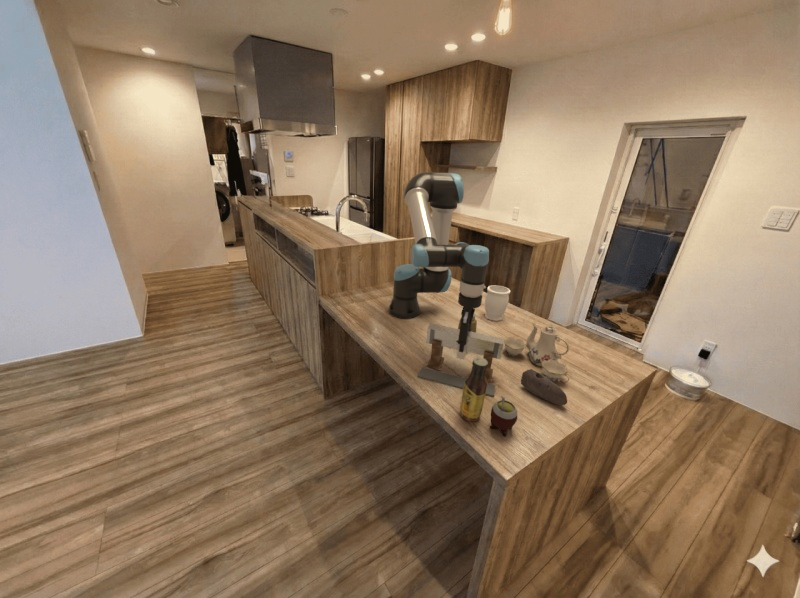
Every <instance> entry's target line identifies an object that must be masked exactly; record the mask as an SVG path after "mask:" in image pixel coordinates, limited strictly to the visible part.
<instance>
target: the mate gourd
mask: <svg viewBox="0 0 800 598" xmlns="http://www.w3.org/2000/svg"><path fill="white" fill-rule="evenodd" d="M500 398H501V399H500V400H498V401H496V402H495V403H494V404H493V405H492V407H491V411H490V425H489V429H490V430H500V432H501V435H502V437H503V438H505V437H507V434H506V433H507V431H508V430H512V429H513V426H515V424H516V423H517V421H518V409H517V408H516V406H515V405H514V404H513V403H512V402H510V401H508V400H506V398H505V396H504V395H503V396H500Z"/></svg>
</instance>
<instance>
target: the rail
mask: <svg viewBox="0 0 800 598" xmlns="http://www.w3.org/2000/svg"><path fill="white" fill-rule="evenodd" d="M459 332H460V329H458V328H455V327H451V326H446V325H441V324H435V323H432V322H431V323H429V325H428V326H427V328H426V336H425V337H426V339H425V343H426V344H431V345H432V341H438V342H441V346H443V348H446V349H447V348H448V349H452V350H456V351H457V349H458V343H457V342H456V341H457V340H458V339H459ZM504 339H505V338H504V337H499V336H494V335H490V334H484V333H479V332H476V333H475V332H470V331H468V335H467V341H466V342H467V345H466V351H465V353H470V354H474V355H480V356H483V357H484V352H487V353H492V354H493V359H497V360H501V358H502V355H503V354H502V353H503V348H504V345H505V344H504Z"/></svg>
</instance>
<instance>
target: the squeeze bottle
mask: <svg viewBox="0 0 800 598" xmlns="http://www.w3.org/2000/svg"><path fill="white" fill-rule="evenodd" d="M477 323H478V322H477V319H476V313H474V315H473V319H472V324H471V325H472V327H471V329H473V330H472V332H475V333H477V327H478V325H477ZM460 326H461V318H459V323H458V326H457V329H460Z"/></svg>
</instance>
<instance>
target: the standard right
mask: <svg viewBox="0 0 800 598" xmlns="http://www.w3.org/2000/svg"><path fill="white" fill-rule="evenodd" d="M482 358H484V359H486V360H487V362H488V366H487V368H486V372H485V377H486V379H487V383H492V380H493V374H494V368H492V364H493V359H494V358H493V354H492V353H487V352H484V356H483V357H482Z"/></svg>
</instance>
